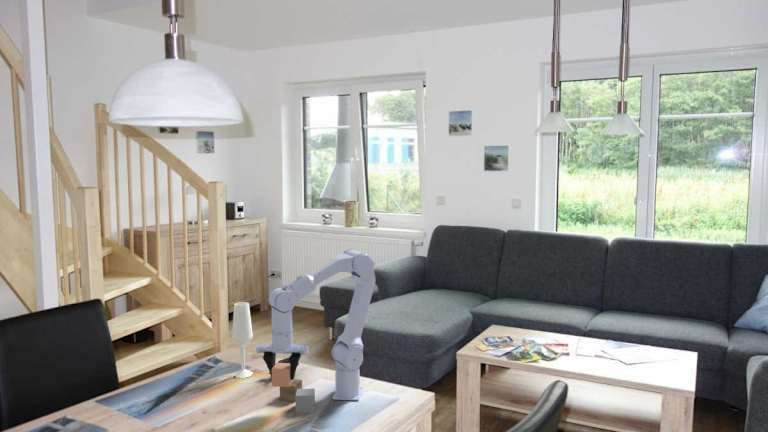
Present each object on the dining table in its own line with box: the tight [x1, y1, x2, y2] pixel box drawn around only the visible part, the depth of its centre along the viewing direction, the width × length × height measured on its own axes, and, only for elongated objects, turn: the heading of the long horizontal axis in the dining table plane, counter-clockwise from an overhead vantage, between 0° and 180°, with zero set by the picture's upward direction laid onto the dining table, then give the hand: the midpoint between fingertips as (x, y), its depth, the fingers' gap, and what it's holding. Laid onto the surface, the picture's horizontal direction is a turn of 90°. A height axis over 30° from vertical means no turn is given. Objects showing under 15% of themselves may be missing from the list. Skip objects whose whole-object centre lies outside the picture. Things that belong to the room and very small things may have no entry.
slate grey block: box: [295, 388, 316, 413], centre depth 170 cm, size 5×5×5 cm
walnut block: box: [279, 378, 303, 403], centre depth 178 cm, size 5×5×5 cm
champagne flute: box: [231, 301, 254, 379], centre depth 195 cm, size 7×7×24 cm
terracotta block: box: [271, 362, 295, 388], centre depth 168 cm, size 5×5×5 cm
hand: (283, 378), depth 168 cm, fingers closed on terracotta block, 5 cm apart
